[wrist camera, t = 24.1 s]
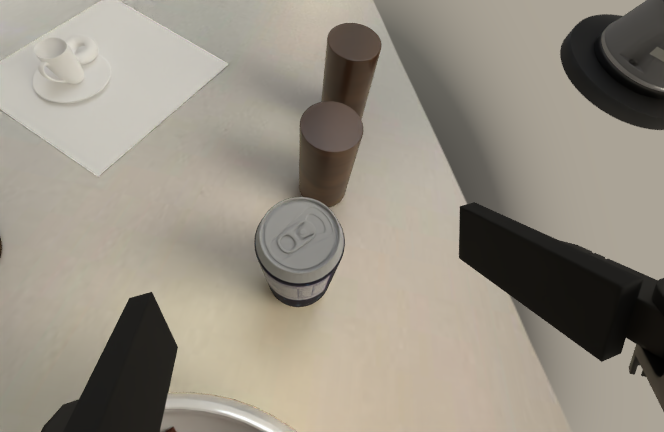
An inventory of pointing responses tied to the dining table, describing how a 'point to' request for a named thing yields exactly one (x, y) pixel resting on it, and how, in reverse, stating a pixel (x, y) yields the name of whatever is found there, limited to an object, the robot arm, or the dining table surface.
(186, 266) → the dining table surface
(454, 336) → the dining table surface
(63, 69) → the teacup and saucer
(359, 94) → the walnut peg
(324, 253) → the beverage can
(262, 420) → the white serving bowl
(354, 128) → the walnut peg middle
